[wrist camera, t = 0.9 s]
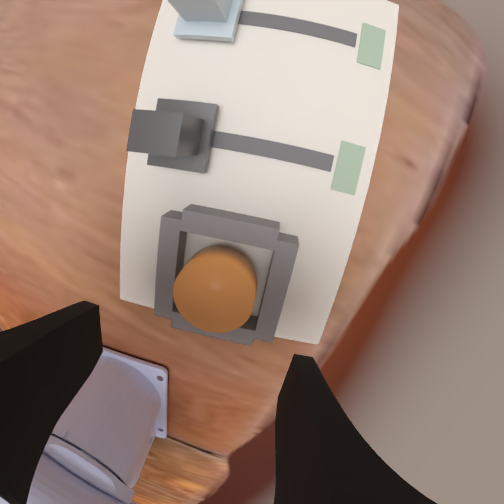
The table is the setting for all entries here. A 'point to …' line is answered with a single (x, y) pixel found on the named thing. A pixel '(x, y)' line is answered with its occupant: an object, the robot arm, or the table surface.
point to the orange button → (216, 289)
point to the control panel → (264, 158)
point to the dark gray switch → (174, 134)
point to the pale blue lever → (207, 19)
